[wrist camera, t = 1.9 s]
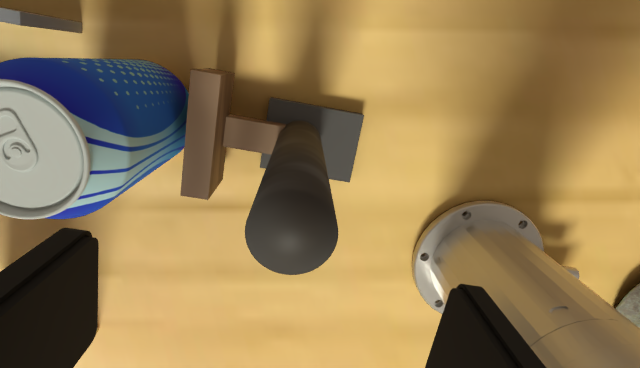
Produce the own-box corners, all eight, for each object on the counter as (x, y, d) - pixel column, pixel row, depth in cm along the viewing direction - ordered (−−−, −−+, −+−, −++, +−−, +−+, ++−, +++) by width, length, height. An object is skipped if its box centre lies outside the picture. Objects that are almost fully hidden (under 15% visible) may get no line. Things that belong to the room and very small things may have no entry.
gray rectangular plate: (362, 113, 34) (363, 115, 33) (348, 179, 35) (349, 182, 34) (270, 97, 33) (269, 98, 32) (261, 164, 35) (259, 167, 34)
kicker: (330, 90, 32) (361, 127, 14) (311, 193, 34) (316, 335, 16) (209, 68, 31) (77, 76, 13) (199, 175, 33) (77, 304, 16)
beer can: (210, 81, 32) (125, 98, 17) (184, 172, 35) (89, 258, 19) (109, 43, 31) (-79, 25, 16) (89, 140, 34) (-92, 205, 18)
